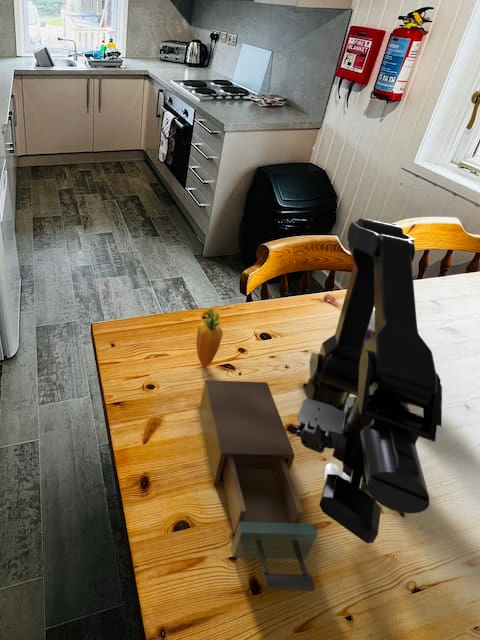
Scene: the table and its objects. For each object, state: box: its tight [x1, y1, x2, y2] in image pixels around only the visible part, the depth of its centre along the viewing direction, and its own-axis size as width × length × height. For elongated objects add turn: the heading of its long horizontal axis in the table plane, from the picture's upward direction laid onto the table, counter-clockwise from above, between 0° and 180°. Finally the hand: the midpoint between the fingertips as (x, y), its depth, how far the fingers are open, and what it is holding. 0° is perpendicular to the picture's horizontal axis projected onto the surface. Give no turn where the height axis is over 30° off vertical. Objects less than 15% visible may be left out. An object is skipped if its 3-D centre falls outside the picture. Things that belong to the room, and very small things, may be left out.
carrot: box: [195, 306, 224, 368], centre depth 82 cm, size 5×5×15 cm
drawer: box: [221, 456, 319, 592], centre depth 57 cm, size 16×10×6 cm, turn 0°
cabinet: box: [198, 379, 296, 486], centre depth 68 cm, size 13×12×8 cm
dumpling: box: [324, 463, 350, 482], centre depth 59 cm, size 7×5×4 cm
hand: (342, 494), depth 59 cm, fingers closed on dumpling, 6 cm apart
